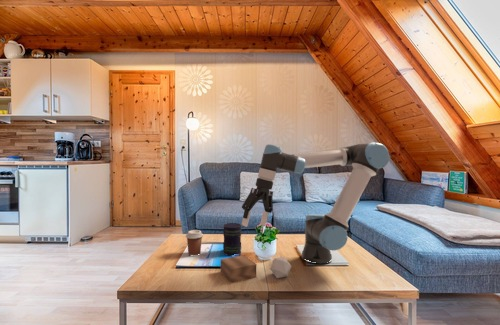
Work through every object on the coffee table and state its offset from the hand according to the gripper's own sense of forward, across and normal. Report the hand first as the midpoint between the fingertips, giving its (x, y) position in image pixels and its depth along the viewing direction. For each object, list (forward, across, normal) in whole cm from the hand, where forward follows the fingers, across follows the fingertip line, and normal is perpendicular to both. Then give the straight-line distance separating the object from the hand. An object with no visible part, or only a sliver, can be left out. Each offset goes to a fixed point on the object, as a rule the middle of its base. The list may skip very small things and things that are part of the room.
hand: (253, 225), depth 119 cm
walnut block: (+23, 0, -2) cm, 23 cm away
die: (+19, -10, +13) cm, 25 cm away
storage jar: (+23, -18, -22) cm, 37 cm away
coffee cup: (+28, -3, -36) cm, 45 cm away
